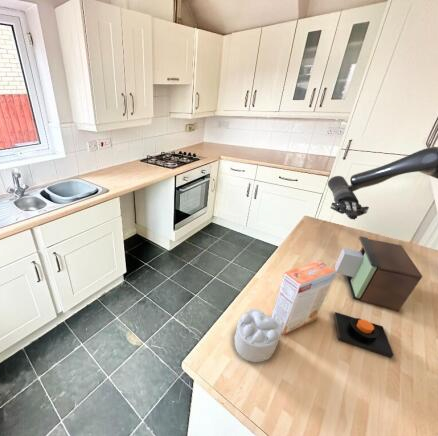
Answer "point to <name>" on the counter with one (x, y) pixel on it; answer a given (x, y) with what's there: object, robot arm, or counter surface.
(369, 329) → the button
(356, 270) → the door
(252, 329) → the lumpy-topped squat cylinder
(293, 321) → the cracker box
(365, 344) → the button box
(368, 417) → the counter surface
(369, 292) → the cupboard
